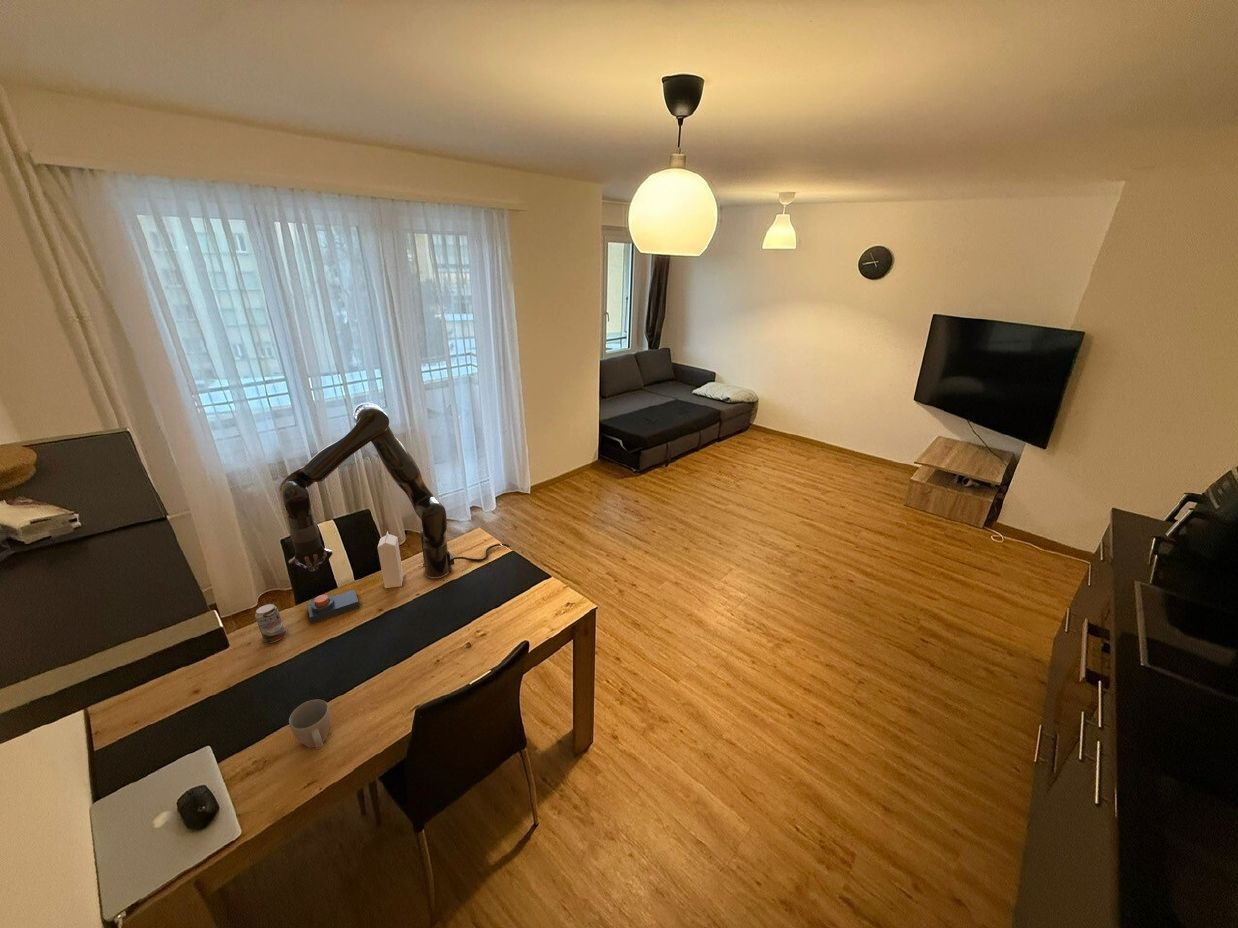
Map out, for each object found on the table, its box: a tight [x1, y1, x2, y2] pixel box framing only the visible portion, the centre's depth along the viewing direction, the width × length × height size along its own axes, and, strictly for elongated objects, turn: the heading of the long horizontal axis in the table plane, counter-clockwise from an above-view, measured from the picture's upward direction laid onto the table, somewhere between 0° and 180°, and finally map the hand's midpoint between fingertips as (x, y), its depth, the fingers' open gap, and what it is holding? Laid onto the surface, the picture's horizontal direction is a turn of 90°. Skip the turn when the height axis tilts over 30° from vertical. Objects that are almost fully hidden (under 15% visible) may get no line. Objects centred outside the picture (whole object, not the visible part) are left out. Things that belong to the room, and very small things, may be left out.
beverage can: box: [254, 603, 286, 644], centre depth 155 cm, size 6×7×12 cm
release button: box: [314, 594, 329, 607], centre depth 167 cm, size 4×4×2 cm
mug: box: [288, 698, 332, 751], centre depth 125 cm, size 12×9×10 cm
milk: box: [377, 530, 404, 589], centre depth 181 cm, size 6×6×22 cm
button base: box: [306, 589, 360, 624], centre depth 170 cm, size 15×8×4 cm, turn 127°
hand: (316, 578), depth 163 cm, fingers closed
